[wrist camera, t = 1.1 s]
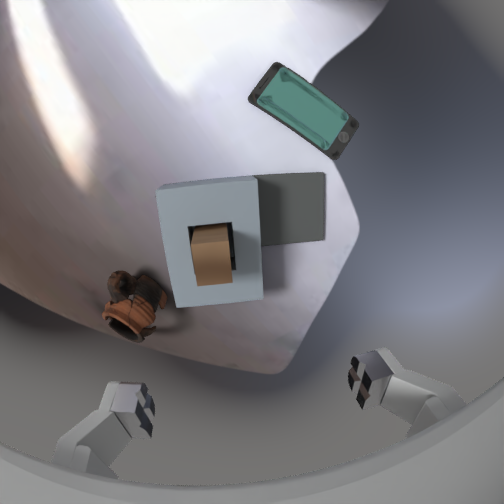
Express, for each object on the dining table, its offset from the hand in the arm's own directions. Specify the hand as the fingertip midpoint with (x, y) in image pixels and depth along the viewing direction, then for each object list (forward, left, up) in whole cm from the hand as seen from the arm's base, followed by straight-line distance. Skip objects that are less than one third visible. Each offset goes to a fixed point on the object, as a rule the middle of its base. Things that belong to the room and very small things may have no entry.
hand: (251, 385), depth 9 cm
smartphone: (-13, +12, -30) cm, 35 cm away
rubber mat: (+1, +9, -30) cm, 31 cm away
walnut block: (+4, -2, -29) cm, 29 cm away
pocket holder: (+4, -2, -30) cm, 30 cm away
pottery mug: (+12, -15, -30) cm, 36 cm away
